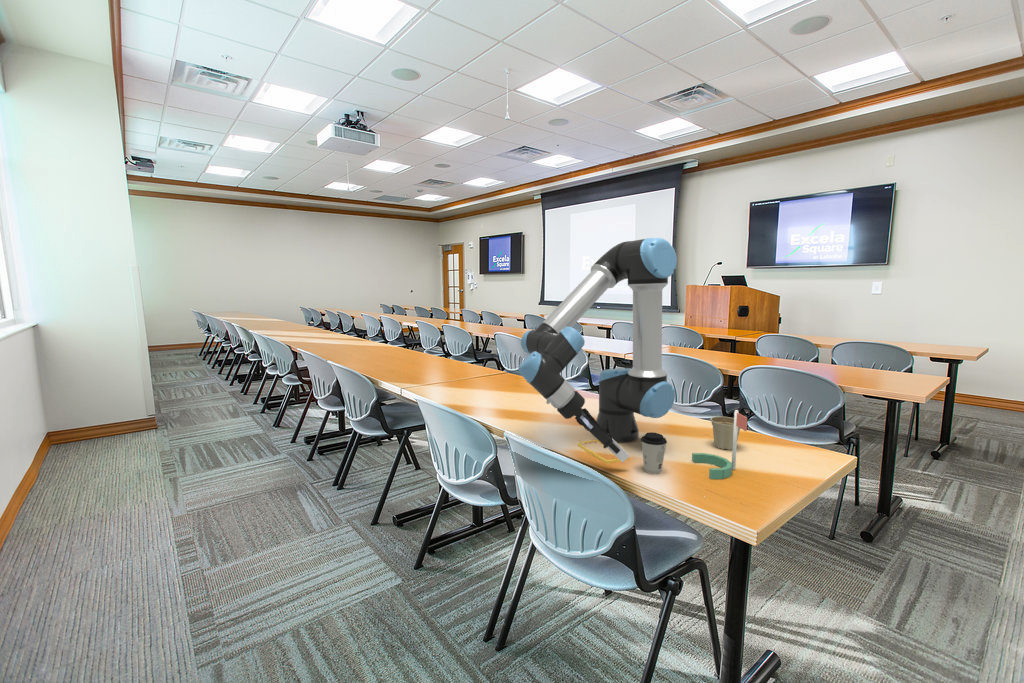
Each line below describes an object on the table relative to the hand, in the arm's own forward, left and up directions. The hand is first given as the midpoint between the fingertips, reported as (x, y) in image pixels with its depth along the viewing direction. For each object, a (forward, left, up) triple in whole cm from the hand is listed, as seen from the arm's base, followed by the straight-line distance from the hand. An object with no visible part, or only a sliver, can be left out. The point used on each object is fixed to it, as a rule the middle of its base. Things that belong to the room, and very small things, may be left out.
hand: (625, 458), depth 125 cm
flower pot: (-18, +37, -4) cm, 41 cm away
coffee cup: (0, +8, -4) cm, 9 cm away
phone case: (-15, -3, -4) cm, 15 cm away
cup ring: (0, +25, -4) cm, 25 cm away
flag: (+2, +30, -4) cm, 31 cm away
